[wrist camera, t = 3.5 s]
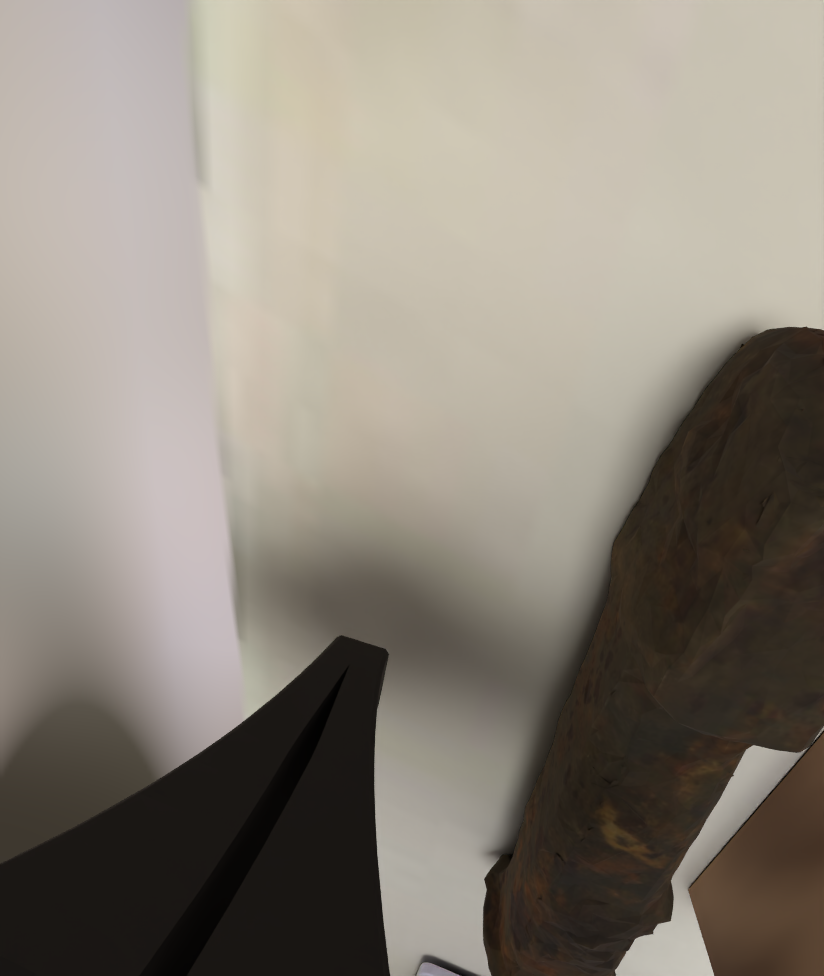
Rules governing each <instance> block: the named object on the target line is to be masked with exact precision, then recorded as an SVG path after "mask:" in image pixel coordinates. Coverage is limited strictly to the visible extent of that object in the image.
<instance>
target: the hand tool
mask: <svg viewBox="0 0 824 976" xmlns="http://www.w3.org/2000/svg"><path fill="white" fill-rule="evenodd" d="M742 346H743V347H742ZM741 347H742V348H741ZM741 347H740V348H741V349H740V350H739V351H738V352H737V353H735V355H734V356H733V357H732V358H731V359H730V360H729V361H728V362H727V363H726V364H725V365H724V367H723V368H722V369H721V371H720V372H719V373H718V375H717V376H716V377H715V378H714V380H713V381H712V382H711V383H710V384H709V386H708V387H707V388H706V389H705V391H704V393H703V394H702V396H701V397H700V399H699V401H698V402H697V404H696V405H695V407H694V409H693V410H692V411H691V413H690V414H689V415H688V417H687V418H686V419H685V420H684V422H683V424H682V425H681V427H680V429H679V430H678V432H677V433H676V435H675V437H674V438H673V440H672V442H671V443H670V445H669V447H668V448H667V449H666V450H665V451H664V453H663V454H662V455H661V457H660V459H659V461H658V462H657V464H656V466H655V468H654V469H653V471H652V474H651V478H650V481H649V484H648V486H647V488H646V489H645V491H644V493H643V495H642V496H641V498H640V500H639V502H638V503H637V505H636V506H635V507H634V509H633V511H632V512H631V514H630V516H629V518H628V520H627V521H626V523H625V525H624V527H623V529H622V530H621V532H620V534H619V535H618V537H617V539H616V540H615V542H614V545H613V550H612V556H611V577H612V578H611V583H610V587H609V592H608V597H607V602H606V605H605V608H604V610H603V613H602V615H601V618H600V621H599V624H598V627H597V629H596V632H595V635H594V637H593V640H592V642H591V645H590V647H589V649H588V652H587V654H586V657H585V659H584V661H583V663H582V666H581V668H580V670H579V673H578V676H577V678H576V681H575V684H574V687H573V690H572V693H571V695H570V697H569V698H568V700H567V701H566V703H565V706H564V708H563V710H562V712H561V715H560V718H559V720H558V725H557V729H556V733H555V738H554V742H553V745H552V747H551V750H550V752H549V755H548V757H547V760H546V764H545V766H544V768H543V770H542V772H541V774H540V776H539V778H538V780H537V782H536V785H535V788H534V790H533V793H532V795H531V797H530V800H529V801H528V803H527V805H526V807H525V814H524V821H523V823H522V826H521V828H520V831H519V839H518V841H517V844H516V846H515V850H514V854H513V856H511V855H508V854H505V855H502V856H501V857H500V859H499V860H498V861H497V862H496V864H495V865H494V866H493V867H492V868H491V869H490V871H489V872H488V874H487V875H486V877H485V879H484V880H485V884H486V888H487V891H486V897H485V902H484V907H483V941H484V946H485V950H486V954H487V958H488V966H489V970H490V972H491V975H492V976H616V974H615V969H616V968H617V967H618V965H619V964H620V962H621V960H622V959H623V957H624V956H625V954H626V951H628V950H629V948H630V947H631V945H632V943H633V942H634V940H635V939H636V938H638V937H640V936H643V935H650V934H653V930H654V929H655V927H656V926H657V924H659V923H664V922H669V921H671V916H672V910H673V900H674V896H673V890H672V884H671V880H672V876H673V874H674V873H675V871H676V870H677V868H678V867H679V865H680V863H681V861H682V860H683V858H684V856H685V854H686V852H687V851H688V849H689V847H690V846H691V844H692V843H693V842H694V840H695V839H696V838H697V836H698V835H699V833H700V831H701V829H702V827H703V825H704V823H705V821H706V819H707V818H708V816H709V815H710V813H711V812H712V810H713V809H714V807H715V805H716V804H717V802H718V801H719V799H720V797H721V795H722V793H723V791H724V790H725V788H726V786H727V784H728V782H729V780H730V778H731V777H732V776H734V775H733V773H734V771H735V769H736V768H737V766H738V764H739V762H740V760H741V758H742V756H743V754H744V752H745V750H746V749H748V748H749V747H751V746H752V745H756V746H761V747H765V748H769V749H774V750H779V751H787V752H795V753H797V752H801V751H803V750H804V749H806V748H808V747H809V746H810V745H811V743H812V742H813V741H814V739H815V738H816V736H817V735H818V733H819V732H820V731H821V729H822V728H823V726H824V330H821V329H814V328H807V327H802V328H798V327H785V328H777V329H769V330H765V331H764V332H762V333H760V334H759V335H756V336H754V337H752V338H751V339H750V340H749V341H748V342H747V343H746V344H745V345H743V344H742V345H741Z"/></svg>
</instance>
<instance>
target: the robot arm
mask: <svg viewBox="0 0 824 976" xmlns="http://www.w3.org/2000/svg"><path fill="white" fill-rule="evenodd" d="M388 655H389V654H388V652H387V651H386V649H383V648H380V647H377V646H374V645H371V644H367V643H364V642H361V641H358V640H355V639H352V638H348V637H345V636H342V635H341V636H339V637H337V638H336V639H335V640H334V641H333V642H332V643H331V644H330V645H329V646H328V647H327V648H326V649H325V650H324V651H323V652H322V653H321V654H320V655H319V656H318V657H317V658H316V659H315V660H314V661H313V662H312V663H311V664H310V665H309V666H308V667H307V668H306V669H305V670H304V671H303V672H302V673H301V674H300V675H298V676H297V677H296V678H295V679H294V680H293V681H292V682H291V683H289V684H288V685H287V686H286V687H285V688H284V689H283V690H282V691H280V692H279V693H278V694H277V695H276V696H275V697H273V698H272V699H271V700H270V701H268V702H267V703H266V704H265V705H263V706H262V707H261V708H260V709H259V710H257V711H256V712H255V713H254V714H252V715H251V716H250V717H249V718H247V719H246V720H245V721H243V722H242V723H241V724H240V725H238V726H237V727H236V728H234V729H233V730H232V731H230V732H229V733H227V734H226V735H225V736H223V737H222V738H221V739H219V740H218V741H216V742H215V743H213V744H212V745H211V746H209V747H208V748H206V749H205V750H203V751H202V752H200V753H199V754H198V755H196V756H194V757H193V758H191V759H190V760H188V761H187V762H185V763H184V764H182V765H180V766H179V767H178V768H176V769H174V770H173V771H171V772H170V773H168V774H166V775H165V776H163V777H162V778H160V779H158V780H157V781H155V782H153V783H152V784H150V785H148V786H147V787H145V788H144V789H142V790H140V791H138V792H136V793H135V794H133V795H131V796H129V797H127V798H126V799H124V800H122V801H120V802H119V803H117V804H115V805H113V806H112V807H110V808H108V809H107V810H104V811H103V812H101V813H99V814H97V815H96V816H94V817H92V818H90V819H88V820H86V821H85V822H83V823H81V824H79V825H77V826H75V827H73V828H71V829H69V830H67V831H66V832H63V833H61V834H60V835H58V836H55V837H53V838H51V839H49V840H47V841H45V842H43V843H41V844H39V845H37V846H35V847H33V848H31V849H29V850H27V851H25V852H23V853H21V854H19V855H17V856H15V857H13V858H11V859H9V860H7V861H5V862H3V863H1V864H0V976H390V972H389V965H388V956H387V948H386V939H385V931H384V923H383V912H382V901H381V890H380V879H379V868H378V857H377V841H376V824H375V796H374V752H375V729H376V715H377V708H378V704H379V700H380V695H381V690H382V685H383V680H384V675H385V670H386V665H387V660H388ZM416 976H460V975H458V974H455V973H453V972H451V971H448V970H446V969H444V968H441V967H439V966H437V965H434V964H432V963H427V962H425V963H423V964H421V966H420V968H419V970H418V973H417V975H416Z"/></svg>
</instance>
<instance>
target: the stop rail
mask: <svg viewBox="0 0 824 976" xmlns="http://www.w3.org/2000/svg"><path fill="white" fill-rule="evenodd" d="M688 891H689V894H690V898H691V901H692V904H693V907H694V911H695V914H696V917H697V920H698V924H699V927H700V930H701V933H702V937H703V940H704V943H705V946H706V950H707V953H708V956H709V959H710V963H711V966H712V969H713V972H714V976H824V733H823V734H822V735H821V737H820V738H819V739H818V740H817V741H816V742H815V743H814V745H813V746H812V747H811V748H810V749H809V750H808V752H807V753H806V754H805V755H804V756H803V757H802V759H801V760H800V761H799V762H798V763H797V764H796V765H795V767H794V768H793V769H792V770H791V771H790V772H789V774H788V775H787V776H786V777H785V778H784V779H783V781H782V782H781V783H780V784H779V785H778V786H777V788H776V789H775V790H774V791H773V792H772V793H771V794H770V796H769V797H768V798H767V799H766V800H765V801H764V803H763V804H762V805H761V806H760V807H759V808H758V810H757V811H756V812H755V813H754V814H753V815H752V816H751V818H750V819H749V820H748V821H747V822H746V823H745V825H744V826H743V827H742V828H741V829H740V830H739V832H738V833H737V834H736V835H735V836H734V837H733V838H732V840H731V841H730V842H729V843H728V844H727V845H726V847H725V848H724V849H723V850H722V851H721V852H720V854H719V855H718V856H717V857H716V858H715V859H714V861H713V862H712V863H711V864H710V865H709V866H708V867H707V869H706V870H705V871H704V872H703V873H702V874H701V876H700V877H699V878H698V879H697V880H696V881H695V883H694V884H693V885H692V886H691V887H690V888H689V889H688Z"/></svg>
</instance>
